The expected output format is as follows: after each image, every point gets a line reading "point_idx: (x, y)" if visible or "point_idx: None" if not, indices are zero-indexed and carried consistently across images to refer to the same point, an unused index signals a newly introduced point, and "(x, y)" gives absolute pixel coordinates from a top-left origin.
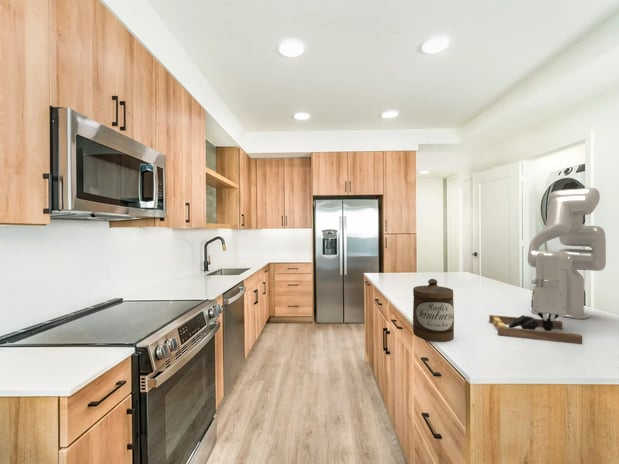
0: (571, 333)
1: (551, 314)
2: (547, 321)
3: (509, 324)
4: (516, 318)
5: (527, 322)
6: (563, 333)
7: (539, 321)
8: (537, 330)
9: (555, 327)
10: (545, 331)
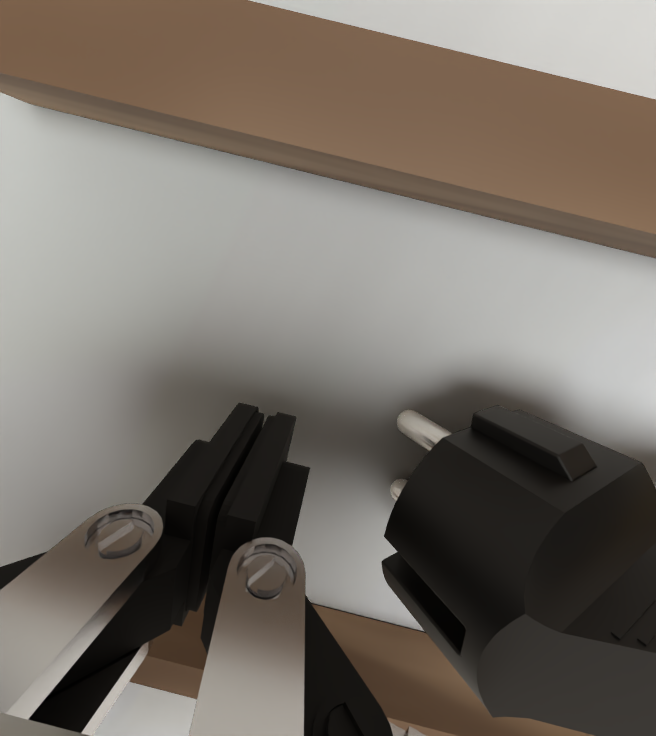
0: (20, 64)
1: (20, 701)
2: (243, 509)
3: None
4: (469, 734)
5: (615, 535)
6: (182, 36)
7: None
8: (643, 198)
9: None
10: (504, 143)
